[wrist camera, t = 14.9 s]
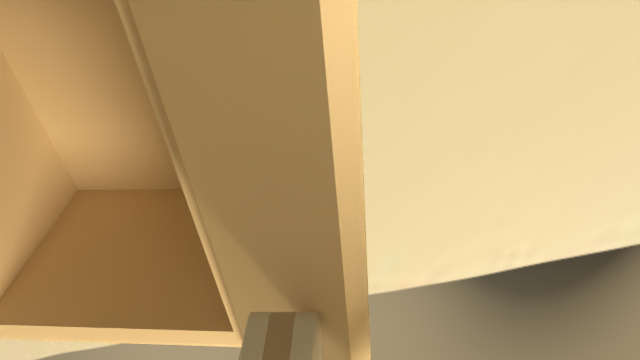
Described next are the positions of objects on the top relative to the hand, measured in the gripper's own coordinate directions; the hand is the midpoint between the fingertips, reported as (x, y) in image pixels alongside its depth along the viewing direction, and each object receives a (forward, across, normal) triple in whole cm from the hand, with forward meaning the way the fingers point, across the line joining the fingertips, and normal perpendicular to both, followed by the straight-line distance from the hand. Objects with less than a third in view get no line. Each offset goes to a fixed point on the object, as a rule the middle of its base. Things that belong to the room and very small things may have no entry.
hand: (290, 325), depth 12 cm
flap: (+5, +4, 0) cm, 6 cm away
